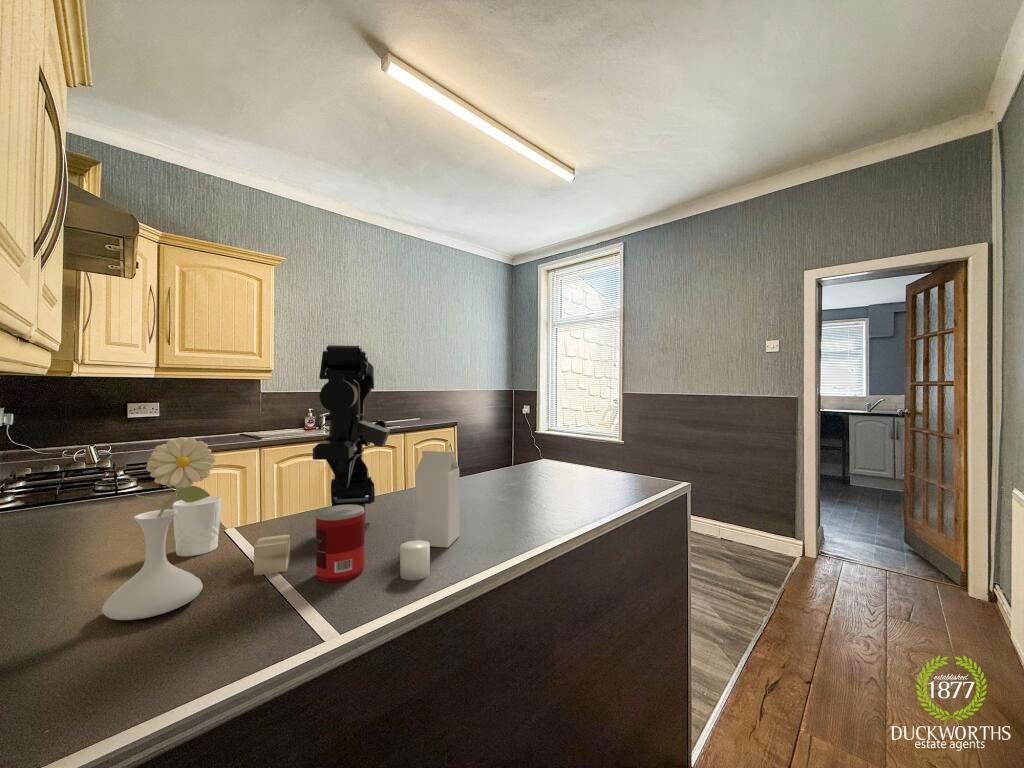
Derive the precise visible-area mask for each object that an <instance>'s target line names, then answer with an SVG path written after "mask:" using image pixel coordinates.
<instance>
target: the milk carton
mask: <svg viewBox="0 0 1024 768" xmlns="http://www.w3.org/2000/svg"><path fill="white" fill-rule="evenodd" d="M459 537H460V466H459V464H458V463H457V460H456V458H455V451H443V450H441V451H440V450H435V451H434V450H422V451H421V458H420V461H419V463H418V465H417V468H416V471H415V540H422V541H427V542H429V543H430V547H435V548H449V547H450V546H451V545H452V544H453V543H454V542H455V541H456V540H457V539H458V538H459Z"/></svg>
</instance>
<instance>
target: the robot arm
mask: <svg viewBox="0 0 1024 768" xmlns="http://www.w3.org/2000/svg"><path fill="white" fill-rule="evenodd" d="M320 362H321V363H320V368H319V369H320V371H319V380H327V382H326V383H325V384H324V385H323V386H322V387H321V389H320V391H319V401H320V404H321V405H322V407H324V409H326V410H327V411H328V414H326V415H325V421H328V435H326V436H325V440H324V441H322V442H319V443H317V444H316V445H315V446H314V447H313V448H312V460H314V461H318V460H321V461H322V460H323V461H324V460H325V461H326V462H327V463H328V465H329V467H330V469H331V471H332V473H333V474H334V478H332V479H331V483H330V496H331V497H330V499H331V507H332V506H337V505H360V506H363V507H364V511H365V532H366V531H367V530H366V529H369V527H370V526H369V525H371V523H370V522H367V519H366V517H367V512H366V511H367V505H371V504H372V503H375V502H376V498H375V497H376V495H375V494H376V493H375V490H376V489H375V482H373V479H372V477H371V476H369V475H370V473H369V469H368V466H367V465H366V463H365V461H364V459H363V454H364V451H365V449H363V448H364V447H369V446H371V444H373V445H374V446H377V447H379V448H380V447H381V448H382V447H383V446H385V445H386V442H387V441H388V438H389V435H390V432H391V429H390V428H389V427H388V426H387V421H384V420H382V419H378V420H376V422H375V423H374V422H369V421H366V420H365V406H366V404H367V403H368V402H369V401H370V400H371V399H372V390H374V389H375V369H374V366H373V365H372V364H371V363H370V361H369V357H368V356H367V353H366V352H365V351H363V348H362V347H361V346H360V345H344V344H343V345H341V344H339V345H334V344H328V345H327V346H326V350H323V351H322V355H321V361H320ZM368 526H369V527H368Z"/></svg>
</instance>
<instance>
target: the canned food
mask: <svg viewBox="0 0 1024 768" xmlns="http://www.w3.org/2000/svg"><path fill="white" fill-rule="evenodd" d="M315 519H316V520H315V570H316V571H315V574H316V577H317V579H318V580H320V582H321V581H322V582H324V583H325V582H326V583H338V582H345V581H349V580H351V579H354V578H355V577H357V576H359V575H361V573H363V571H364V569H365V556H366V555H365V550H366V549H365V544H366V543H365V539H366V537H365V533H366V531H365V511H364V507H363V506H360V505H337V506H332V505H331V506H329V507H324V508H322V509H320V510H318V511H317V512H316V516H315Z"/></svg>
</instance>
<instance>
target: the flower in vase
mask: <svg viewBox="0 0 1024 768" xmlns="http://www.w3.org/2000/svg"><path fill="white" fill-rule="evenodd" d="M208 447H209V446H208V444H207V443H204V441H202V440H198V441H197V440H196V439H195V438H193V437H191V438H190V437H189V438H185V437H182V436H181V437H178V438H177V439H169V440H167V441H166V443H163V444H161V445H156V446H155V448H154V450H153V451H152V452H151V454H150V455H151V456H149V458H148V461H147V462H146V464H147V466H146V467H145V469H146V471H147V472H149V473H150V474H149V476H150V477H151V478H154V483H156V484H160V485H163V486H164V485H165V486H166V487H169V488H171V487H174V486H175V487H176V488H175V491H174V492H173V493H172V495H171V497H169V499H168V500H167V502H166V503H164V502H163V501H161V500H159V499H158V498H153V497H147V496H142V495H139V494H138V493H135V492H133V494H134V495H135V496H136V498H138V499H140V500H143V501H148V502H152V503H157V504H161V505H163V506H162V508H161V509H158V510H152V511H147V512H143V513H142V512H141V513H139V514H136V515H135V516H133V519H134V520H135V521H136V523H137V524H138V525H139V526H140V528H141V529H142V532H143V535H144V541H145V558H144V563H143V565H142V567H141V568H140V570H139V571H138V572H137V573H135V574H134V575H133V576H132V577H131V578H130V579H128V580H127V581H126V582H125V583H123V584H122V585H121V586H120V587H118V588H117V589H116V590H115V591H114V592H113V593H112V594H111V595H110V596H108V598H107V599H106V600H105V602H104V603H103V606H102V608H101V612H102V614H104V616H106V617H107V618H108V619H111V620H116V621H122V620H123V621H133V620H143V619H147V618H151V617H155V616H156V617H157V616H159V615H164V614H166V613H169V612H172V611H174V610H176V609H178V608H180V607H183V606H184V605H186V604H188V603H190V602H191V601H193V600H194V599H196V598H197V596H199V595H200V593H201V592H202V590H203V587H204V585H203V583H202V580H201V579H200V578H199V577H197V576H195V574H193V573H191V572H188V571H187V570H185V569H181V568H180V567H177V566H175V565H173V564H172V563H170V562H169V560H168V558H167V553H166V542H167V533H168V530H169V526H170V524H171V522H172V521H173V517H174V516H175V515H176V513H177V512H178V511H177V510H173V509H166V508H167V507H168V505H169V504H170V503H171V501H172V500H173V499H174V498H175V497H176V495H177V497H178V498H179V499H180V500H183V501H184V502H187V503H190V502H195V501H198V500H201V499H204V498H206V497H209V496H211V494H210V493H209V492H208V491H206V490H205V489H203V487H200V486H197V485H194V483H198V482H201V481H204V479H207V478H208V477H209V476H210V474H211V470H212V469H213V468H214V463H216V455H215V454H212V450H211V449H210V448H208ZM180 488H181V489H180Z"/></svg>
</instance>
